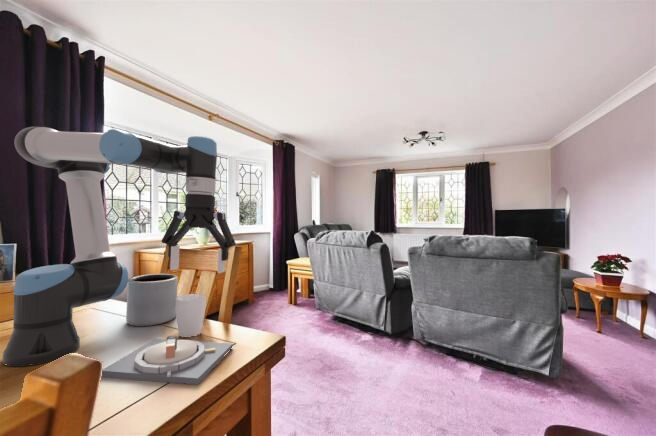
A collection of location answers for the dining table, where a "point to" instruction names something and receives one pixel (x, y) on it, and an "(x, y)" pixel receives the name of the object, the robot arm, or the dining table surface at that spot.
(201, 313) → the cup
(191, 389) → the dining table surface
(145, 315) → the planter
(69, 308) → the robot arm
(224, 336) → the dining table surface
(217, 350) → the panel
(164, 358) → the dial
